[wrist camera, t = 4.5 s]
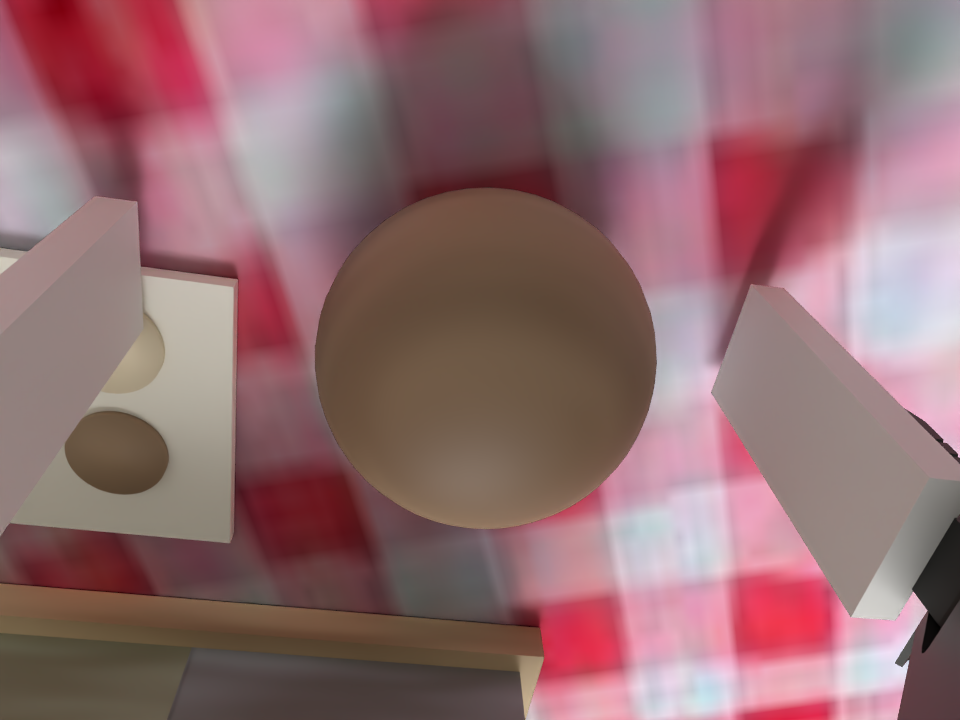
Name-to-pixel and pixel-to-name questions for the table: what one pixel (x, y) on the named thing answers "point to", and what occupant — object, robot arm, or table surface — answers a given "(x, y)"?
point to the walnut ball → (485, 358)
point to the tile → (155, 423)
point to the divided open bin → (251, 661)
